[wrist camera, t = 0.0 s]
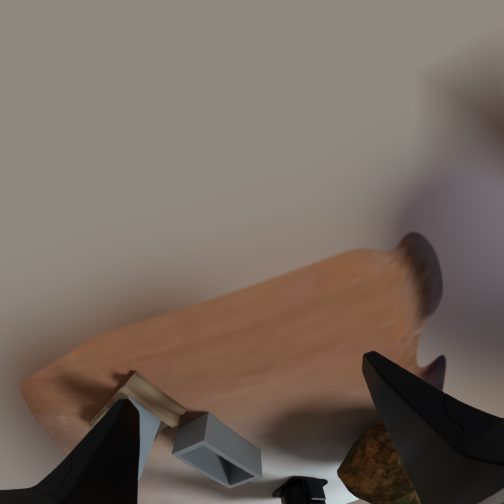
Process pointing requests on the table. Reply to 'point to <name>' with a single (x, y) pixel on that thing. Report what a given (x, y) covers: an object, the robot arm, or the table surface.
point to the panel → (145, 434)
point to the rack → (146, 402)
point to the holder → (217, 452)
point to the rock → (377, 470)
